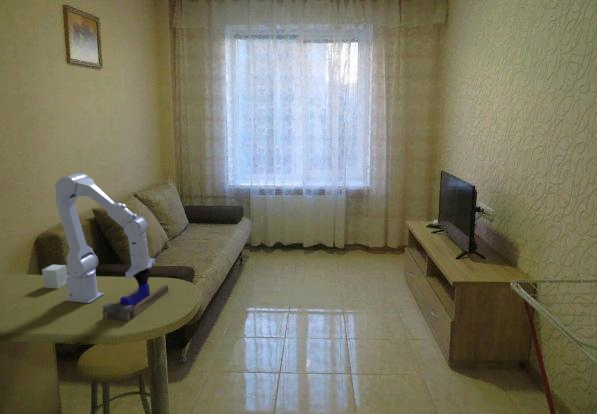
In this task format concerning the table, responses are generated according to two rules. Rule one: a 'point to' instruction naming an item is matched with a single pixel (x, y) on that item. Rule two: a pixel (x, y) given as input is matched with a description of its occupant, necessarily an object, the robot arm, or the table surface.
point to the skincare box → (55, 276)
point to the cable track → (131, 311)
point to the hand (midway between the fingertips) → (143, 290)
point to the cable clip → (137, 296)
